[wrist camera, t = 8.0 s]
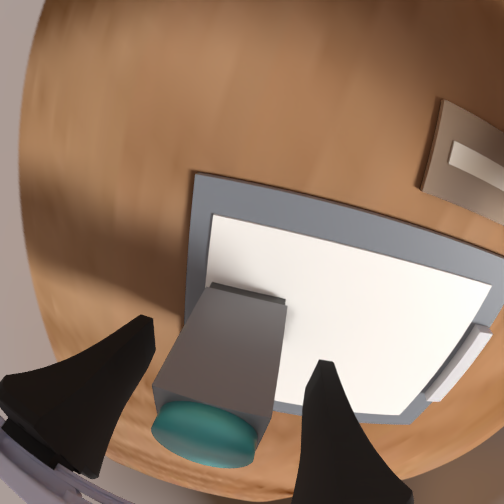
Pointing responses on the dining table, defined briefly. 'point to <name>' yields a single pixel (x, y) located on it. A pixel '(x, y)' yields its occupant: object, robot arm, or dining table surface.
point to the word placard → (467, 163)
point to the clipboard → (348, 292)
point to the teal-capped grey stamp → (221, 378)
